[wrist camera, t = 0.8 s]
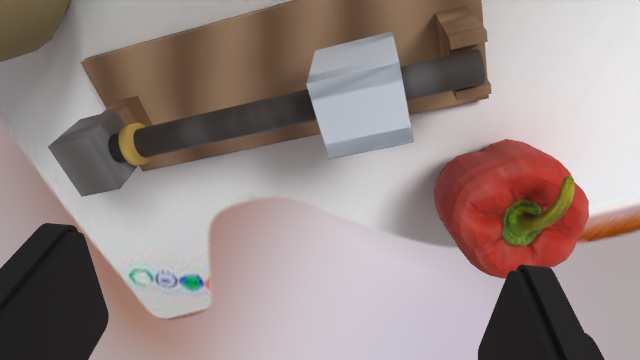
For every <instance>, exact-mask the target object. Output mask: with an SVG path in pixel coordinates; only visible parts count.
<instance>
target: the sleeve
mask: <svg viewBox="0 0 640 360" xmlns="http://www.w3.org/2000/svg"><path fill="white" fill-rule="evenodd" d="M306 85H307V88H308V91H309V95H310V98H311V101H312V104H313V108H314V111H315V114H316V118H317V121H318V124H319V128H320V131H321V134H322V137H323V141H324V144H325V147H326V151H327V154H328V157H329V159H332V158H337V157H342V156H347V155H352V154H357V153H362V152H368V151H373V150H378V149H383V148H388V147H393V146H398V145H403V144H408V143H413V142H414V140H413V135H412V129H411V124H410V118H409V113H408V107H407V102H406V96H405V91H404V85H403V80H402V74H401V69H400V63H399V59H398V54H397V50H396V45H395V41H394V37H393V32H392V31H391V32H387V33H383V34H379V35H375V36H371V37H367V38H363V39H359V40H355V41H351V42H347V43H343V44H339V45H335V46H331V47H327V48H324V49H320V50H316V51H315V53H314V57H313V61H312V65H311V68H310V72H309V76H308V80H307V84H306Z"/></svg>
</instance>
